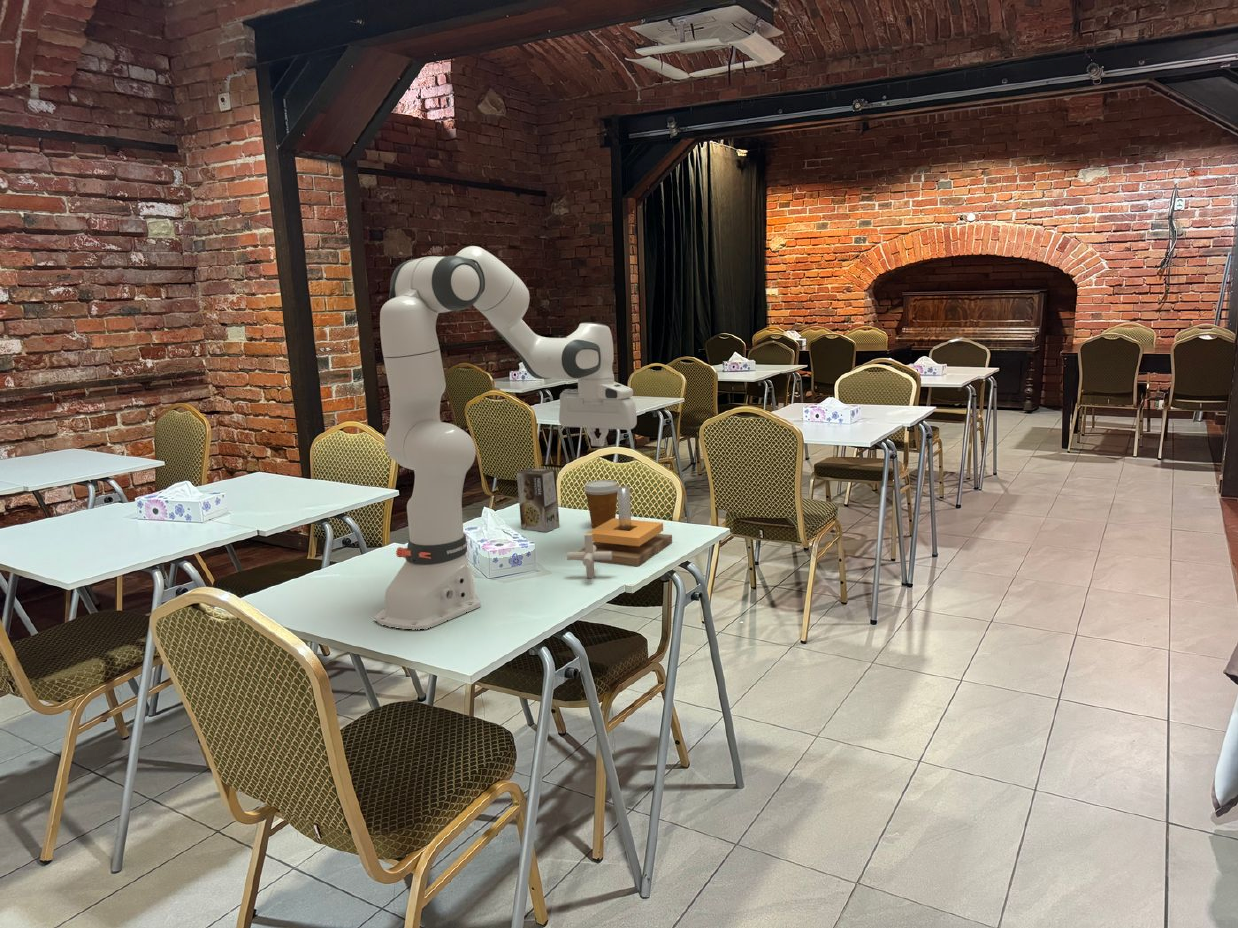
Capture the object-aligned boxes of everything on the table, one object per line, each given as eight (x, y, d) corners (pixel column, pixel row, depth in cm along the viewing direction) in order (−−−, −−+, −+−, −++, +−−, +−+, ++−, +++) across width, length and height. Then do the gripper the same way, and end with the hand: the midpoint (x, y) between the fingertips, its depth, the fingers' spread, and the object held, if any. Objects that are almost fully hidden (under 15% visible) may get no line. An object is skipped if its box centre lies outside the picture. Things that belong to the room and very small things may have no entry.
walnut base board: (637, 566, 197) (637, 558, 197) (578, 559, 204) (577, 551, 204) (672, 542, 215) (672, 534, 214) (616, 536, 222) (615, 529, 221)
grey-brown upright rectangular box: (560, 526, 234) (557, 469, 231) (546, 532, 229) (542, 474, 225) (534, 523, 239) (530, 467, 235) (519, 529, 233) (515, 471, 230)
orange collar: (638, 546, 200) (638, 538, 199) (586, 540, 206) (586, 532, 205) (663, 530, 212) (662, 522, 211) (613, 525, 218) (613, 518, 218)
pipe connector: (614, 569, 196) (612, 527, 194) (610, 584, 186) (608, 540, 184) (572, 569, 197) (569, 528, 195) (565, 584, 187) (562, 541, 185)
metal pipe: (631, 547, 205) (628, 491, 203) (610, 545, 208) (607, 489, 205) (641, 540, 210) (638, 485, 208) (620, 538, 213) (618, 484, 210)
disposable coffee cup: (587, 522, 237) (585, 480, 235) (621, 520, 237) (619, 478, 234) (584, 531, 228) (582, 488, 226) (620, 530, 228) (618, 486, 225)
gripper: (553, 390, 209) (555, 445, 211) (627, 392, 199) (628, 450, 202) (566, 387, 214) (568, 441, 217) (639, 389, 205) (640, 446, 207)
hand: (597, 446), depth 209 cm, fingers closed
